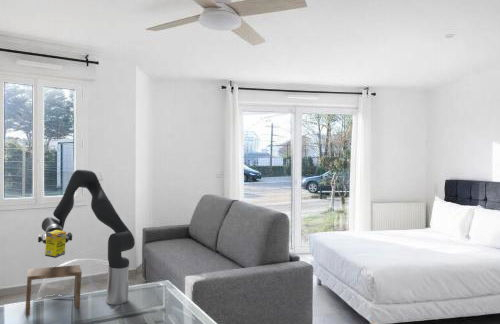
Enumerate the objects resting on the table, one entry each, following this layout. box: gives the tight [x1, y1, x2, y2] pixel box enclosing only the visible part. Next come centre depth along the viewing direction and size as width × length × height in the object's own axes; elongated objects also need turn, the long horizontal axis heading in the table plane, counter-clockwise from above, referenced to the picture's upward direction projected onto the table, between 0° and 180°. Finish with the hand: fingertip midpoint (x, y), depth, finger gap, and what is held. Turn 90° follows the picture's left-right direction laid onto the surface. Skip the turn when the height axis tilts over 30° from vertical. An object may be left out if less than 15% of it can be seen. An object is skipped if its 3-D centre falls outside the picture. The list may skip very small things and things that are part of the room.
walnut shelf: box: [25, 264, 82, 316], centre depth 170 cm, size 21×10×16 cm, turn 120°
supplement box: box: [44, 230, 67, 259], centre depth 173 cm, size 6×6×11 cm
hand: (56, 241), depth 173 cm, fingers closed on supplement box, 8 cm apart
